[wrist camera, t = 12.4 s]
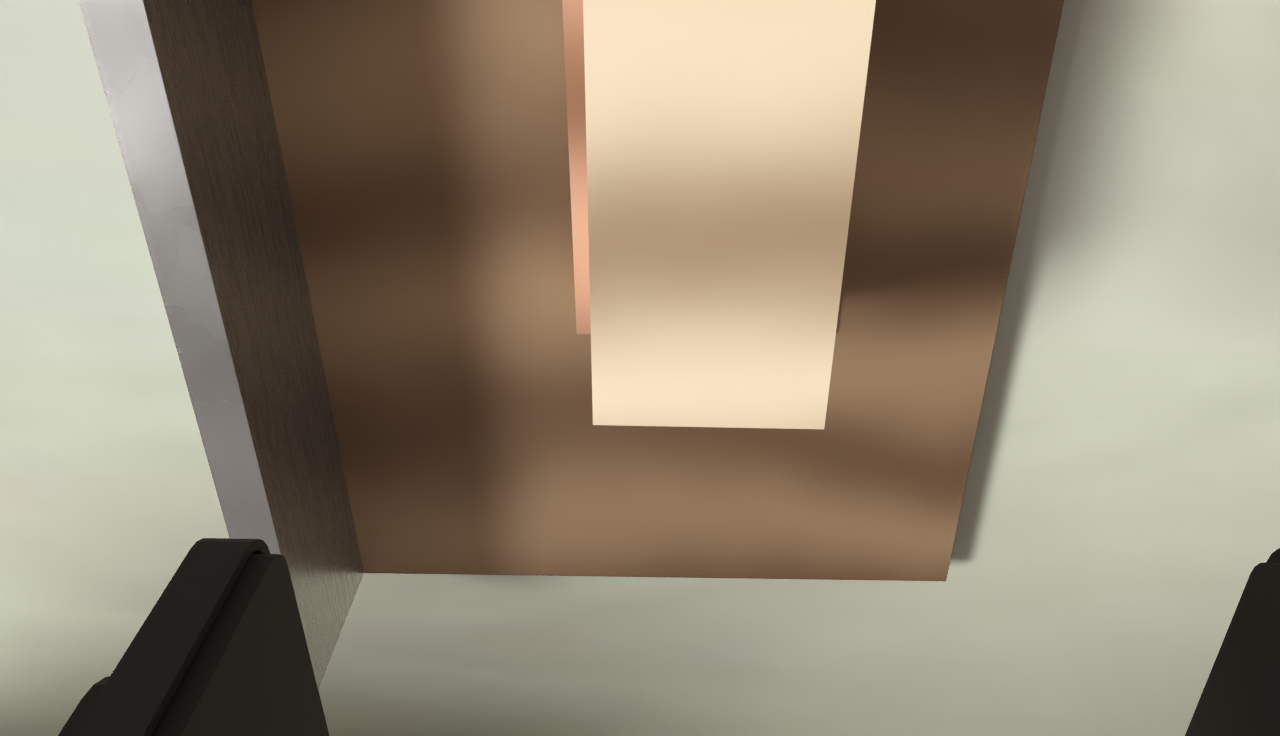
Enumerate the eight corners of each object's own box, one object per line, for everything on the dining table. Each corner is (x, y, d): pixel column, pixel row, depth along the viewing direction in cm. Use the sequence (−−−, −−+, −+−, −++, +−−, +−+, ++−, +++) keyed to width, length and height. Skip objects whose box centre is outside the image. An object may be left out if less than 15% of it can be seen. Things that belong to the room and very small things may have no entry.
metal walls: (946, 581, 31) (989, 706, 27) (327, 572, 32) (273, 694, 28) (1132, -339, 19) (1266, -378, 15) (128, -329, 20) (-23, -364, 15)
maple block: (603, -61, 22) (582, -15, 17) (828, -59, 22) (876, -13, 17) (608, 301, 26) (592, 425, 21) (794, 304, 26) (824, 429, 21)
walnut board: (938, 560, 32) (947, 585, 31) (336, 551, 33) (325, 576, 32) (1112, -333, 20) (1136, -340, 19) (150, -324, 21) (123, -331, 20)
